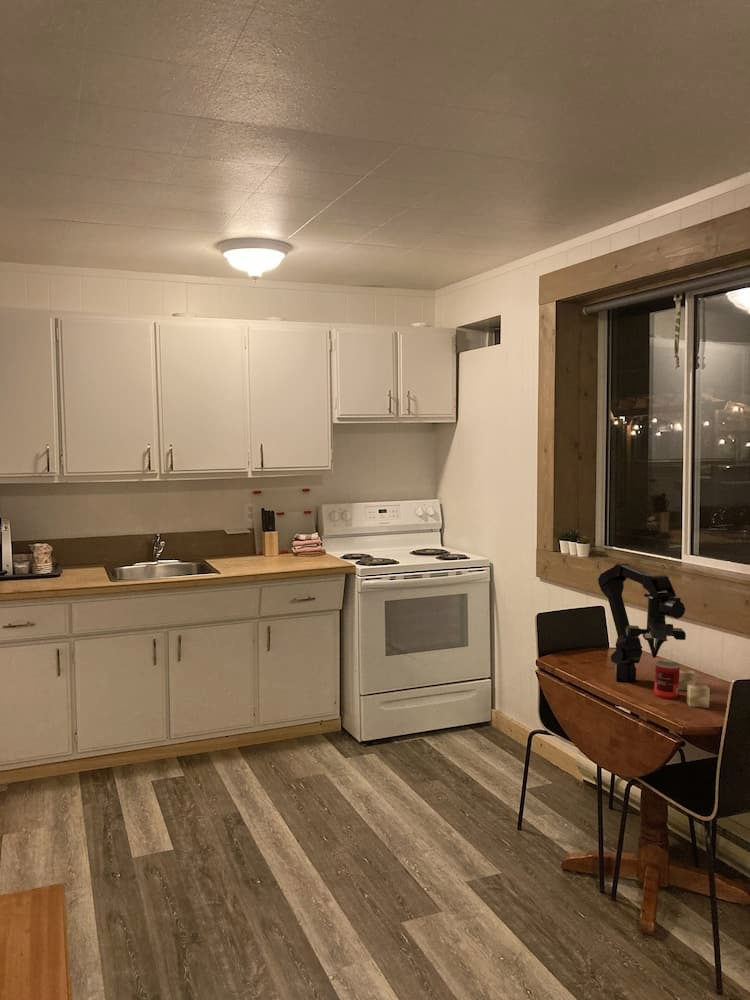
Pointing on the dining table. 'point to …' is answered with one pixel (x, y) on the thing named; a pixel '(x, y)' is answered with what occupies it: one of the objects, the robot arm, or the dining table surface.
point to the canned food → (667, 679)
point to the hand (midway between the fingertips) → (653, 657)
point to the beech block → (698, 695)
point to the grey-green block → (686, 679)
